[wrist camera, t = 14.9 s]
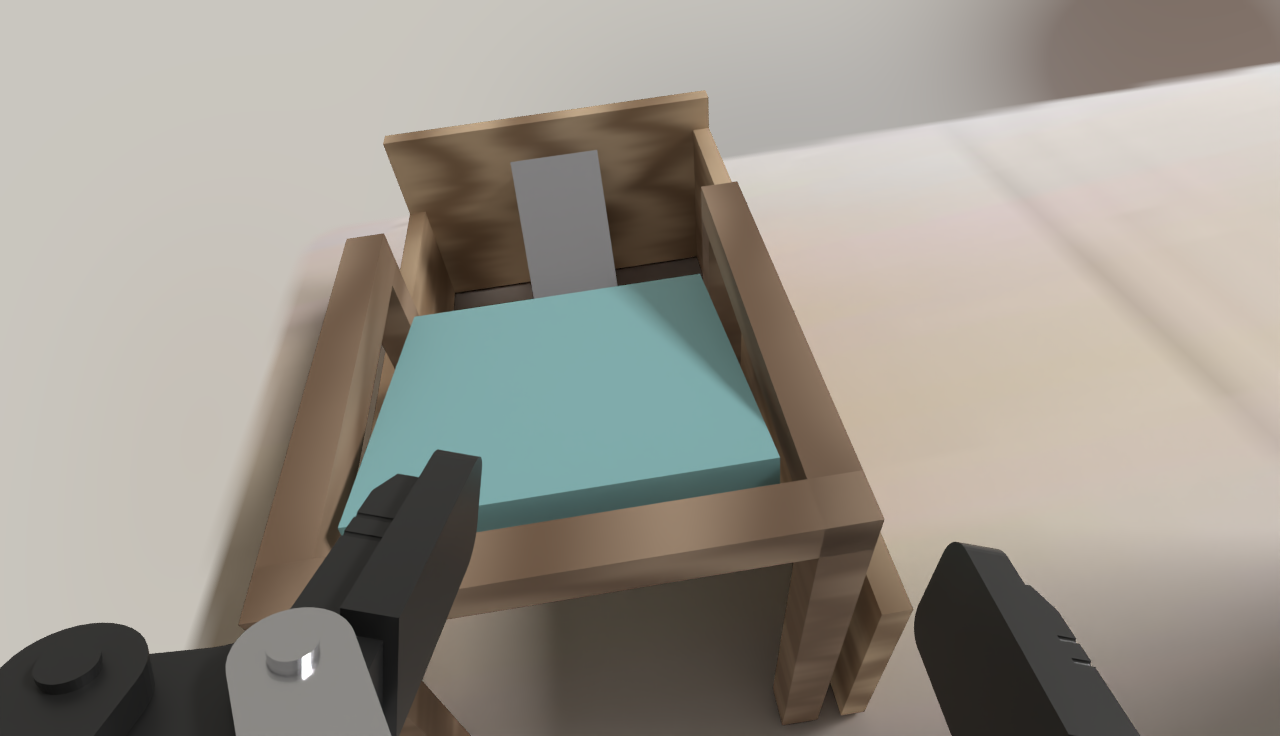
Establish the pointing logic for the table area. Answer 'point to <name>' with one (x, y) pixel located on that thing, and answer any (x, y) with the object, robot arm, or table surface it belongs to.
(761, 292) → the trapdoor frame
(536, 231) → the granite stone
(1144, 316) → the table surface
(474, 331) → the trapdoor
